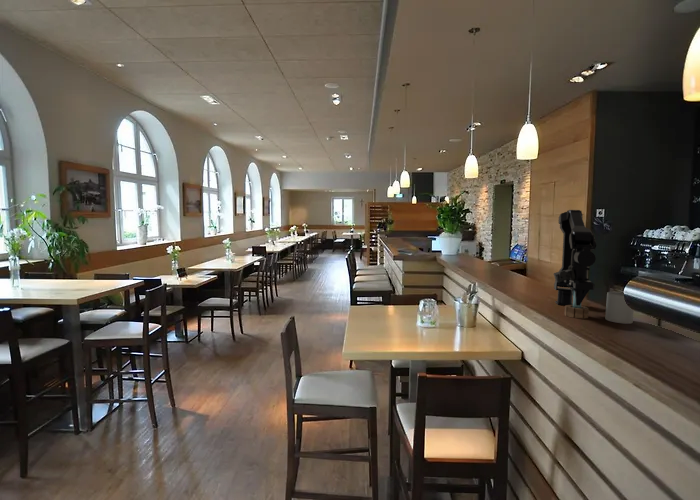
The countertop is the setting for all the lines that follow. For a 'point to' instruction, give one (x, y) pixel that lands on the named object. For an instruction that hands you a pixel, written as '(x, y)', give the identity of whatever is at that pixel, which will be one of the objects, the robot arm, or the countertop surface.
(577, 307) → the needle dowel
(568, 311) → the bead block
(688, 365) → the countertop surface
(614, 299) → the cup
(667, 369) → the countertop surface
